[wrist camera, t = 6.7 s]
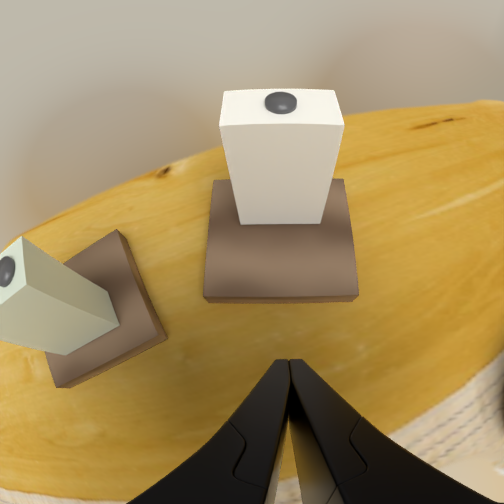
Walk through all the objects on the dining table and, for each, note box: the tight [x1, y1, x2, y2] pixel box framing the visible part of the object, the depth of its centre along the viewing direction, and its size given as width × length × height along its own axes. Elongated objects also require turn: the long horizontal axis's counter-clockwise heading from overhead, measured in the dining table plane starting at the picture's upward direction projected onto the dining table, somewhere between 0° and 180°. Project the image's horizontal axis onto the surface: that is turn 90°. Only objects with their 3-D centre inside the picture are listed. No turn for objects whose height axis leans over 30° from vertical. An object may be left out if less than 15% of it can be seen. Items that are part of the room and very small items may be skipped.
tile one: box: [219, 89, 345, 225], centre depth 18 cm, size 3×6×10 cm, turn 89°
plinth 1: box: [45, 229, 168, 388], centre depth 21 cm, size 10×11×2 cm
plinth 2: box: [203, 179, 359, 303], centre depth 23 cm, size 10×11×2 cm
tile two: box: [0, 236, 120, 355], centre depth 15 cm, size 3×6×10 cm, turn 120°
